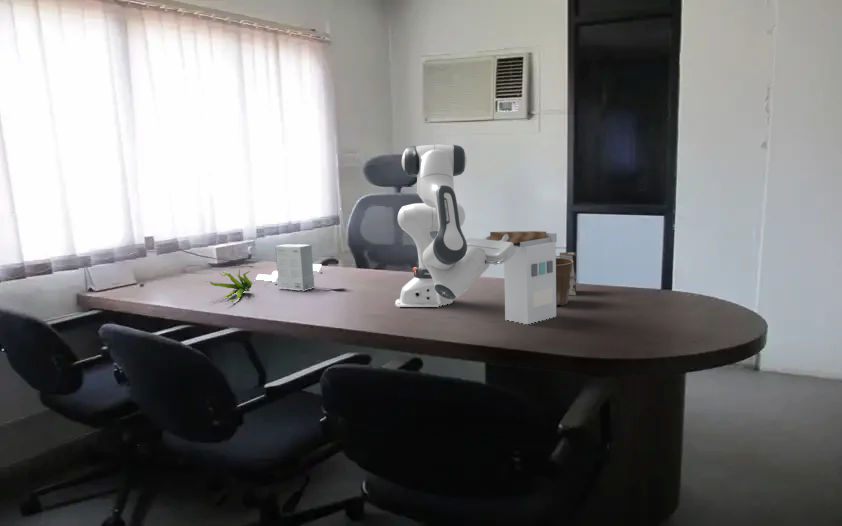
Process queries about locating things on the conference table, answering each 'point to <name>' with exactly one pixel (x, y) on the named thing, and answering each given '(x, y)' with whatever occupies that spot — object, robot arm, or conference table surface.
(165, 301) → the conference table surface
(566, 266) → the plant pot
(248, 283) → the decorative plant
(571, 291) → the coffee box
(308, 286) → the hard drive box
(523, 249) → the switch console stand
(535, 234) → the lever bar
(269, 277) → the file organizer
